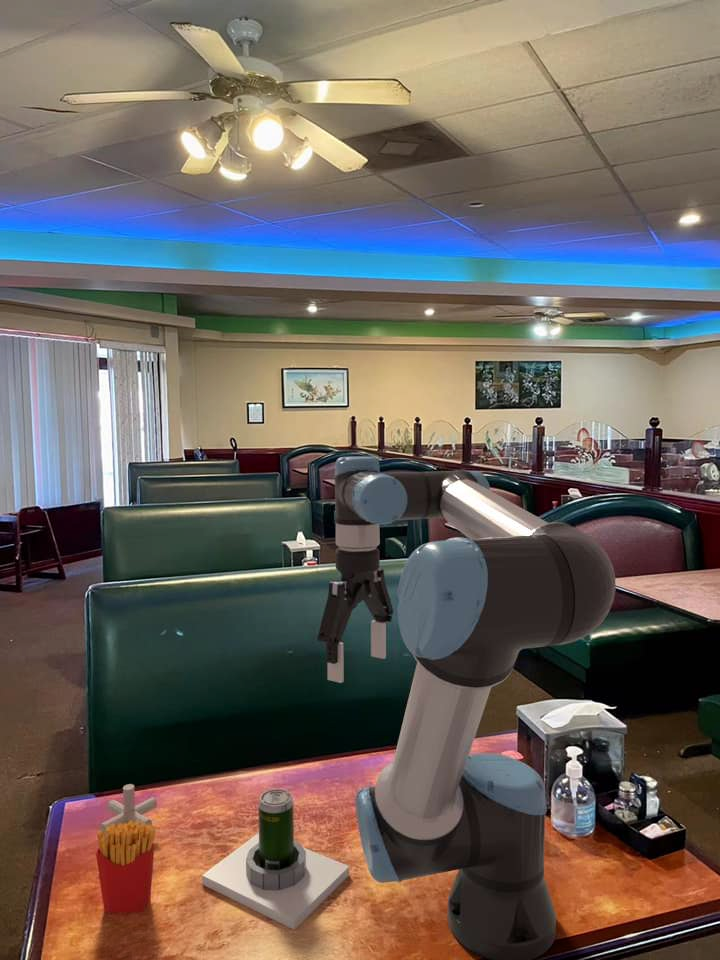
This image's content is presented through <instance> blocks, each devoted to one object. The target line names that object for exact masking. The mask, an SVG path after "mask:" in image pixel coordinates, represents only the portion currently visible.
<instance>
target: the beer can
mask: <svg viewBox="0 0 720 960" xmlns="http://www.w3.org/2000/svg"><path fill="white" fill-rule="evenodd" d="M257 806H258V833H259V867H261V868H263V869H265V870H281V869H284V868H287V867H290V866H291V865H293V864H294V841H295V839H294V836H295V834H294V828H295V827H294V800H293V796H292V793H291V792H290V791H289V790H287V789H283V788H272V789H267V790H266V791H263V792H262V794H260V796H259V802H258V805H257Z"/></svg>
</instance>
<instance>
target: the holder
mask: <svg viewBox="0 0 720 960" xmlns="http://www.w3.org/2000/svg"><path fill="white" fill-rule="evenodd" d="M349 876H350V866H349V865H347V864H345V863H342V862H340V861H336V860H334V859H332V858H329V857H327V856H325V855H322V854H320V853H318V852H315V851H313V850H310V849H308V848H305V847H304V846H303V845H302V844H301V843H299V841H295V840H294V864H293V865H291V866H290V867H287V868H284V869H281V870H265V869H263V868H261V867H259V832H257V833H256V834H255V835H254V836H253V837H251V838H250V839H249V840H247V841H246V842H244V843H243V844H241V845H240V846H239V847H237V848H236V849H235V850H234V851H232V852H231V853H230V854H228V855H227V856H225V857H224V858H223V859H222V860H221V861H219V862H218V863H216V864H215V865H214V866H212V867H211V868H209V870H207V871H206V872H205V873H203V874H202V875H201V879H202V881H201V883H202V884H201V885H203V886H205V887H207V888H209V889H210V890H212V891H215V892H217V893H218V894H221V895H223V896H225V897H227V898H229V899H231V900H233V901H235V902H236V903H238V904H241V905H242V906H245V907H247V908H249V909H250V910H253V911H255V912H258V913H259V914H261V915H262V916H265V917H267V918H269V919H271V920H273V921H274V922H277V923H279V924H282V925H283V926H285V927H287V928H289V929H291V930H293V931H295V930H296V929H297V928H298V927H299V926H300V925H301V924H302V923H304V921H305V920H306V919H307V918H308V917H309V916H310V915H311V914H313V912H314V911H315V910H316V909H318V908H319V906H321V904H322V903H323V902H324V901H325V900H326V899H327V898H328V897H329V896H330V895H332V893H334V891H335V890H336V889H338V887H339V886H340V885H341V884H342V883H343V882H344V881H345V880H346V879H347V878H348V877H349Z"/></svg>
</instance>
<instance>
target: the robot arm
mask: <svg viewBox="0 0 720 960" xmlns="http://www.w3.org/2000/svg"><path fill="white" fill-rule="evenodd" d="M334 466H335V468H334V476H333V480H334V494H335V495H334V496H335V497H334V504H335V506H334V507H335V508H334V509H335V515H334V516H335V545H336V546H337V548H336V549H335V569H336V570H337V571H338V572H339V573H340V574H341V575H340V581H334V580H331V581H330V582H329V583H328V595H327V599H326V603H325V607H324V611H323V614H322V615H323V616H322V619H321V623H320V627H319V630H318V634H317V641H318V642H320V643H321V642H322V643H325V645H326V662H327V681H332V682H336V683H340V684H342V683H344V681H345V680H344V678H345V677H344V673H345V672H344V666H345V665H344V660H345V659H344V642H341V640H342V638H343V635H344V634H345V633H344V632H345V630H346V627H347V625H348V622H349V620H350V617H351V615H352V613H353V610H354V609H355V608H357V606H358V604H359V603H361V602H362V601H363V602H364V604H365V606H366V607H367V609H368V611H369V612H370V614H371V616H372V617H373V619H374V620H370V657H372V658H378V659H383V660H384V659H386V658H387V622H388V623H391V622H392V620H393V617H392V616H393V614H394V609H393V606H392V605H393V604H392V602H391V598H390V595H389V591H388V587H387V583H386V580H385V570H384V569H383V568H380V564H381V563H380V562H381V561H380V549H379V548H378V546H380V544H381V543H380V542H381V540H380V539H381V538H380V525H383V526H384V525H388V524H389V525H390V524H392V523H393V522H396V521H405V520H409V521H411V520H426V519H428V520H430V519H431V520H433V519H443V520H444V521H446V522H448V523H449V524H450V525H451V526H453V527H454V528H455V529H456V530H457V531H459V532H460V533H461V534H463V535H464V536H466V537H456V536H455V537H451V538H448V539H445V540H436V541H428V542H427V543H424V544H421V545H420V546H418V547H417V548H416V549H414V551H412V553H411V554H409V555H410V556H409V557H408V558H407V560H406V562H405V564H404V566H403V568H402V571H401V575H400V579H399V584H398V589H397V598H398V600H399V601H398V605H397V607H396V608H397V610H396V611H397V612H396V613H397V623H398V629H399V632H400V636H401V638H402V640H403V643H404V644H405V647H406V648H407V650H409V652H410V653H411V654H412V656H413V658H414V660H415V661H416V662H417V663H416V667H415V670H414V675H413V678H412V683H411V687H410V692H409V696H408V699H407V704H406V708H405V712H404V716H403V720H402V725H401V727H400V728H401V729H400V733H399V737H398V740H397V746H396V749H395V753H394V756H393V757H394V758H393V760H392V761H391V762H389V763H388V764H387V765H386V766H385V767H383V769H382V770H381V771H380V773H379V775H378V777H377V780H376V783H375V786H371V785H367V786H366V787H364V788H360V789H359V790H357V792H356V795H355V812H356V818H357V825H358V832H359V838H360V843H361V847H362V851H363V856H364V858H365V862H366V866H367V868H368V872H369V873H370V875H371V877H372V878H373V880H374V881H376V882H378V883H381V884H386V883H392V882H393V883H394V882H397V883H403V881H406V880H413V879H416V878H423V877H426V876H427V877H428V876H432V875H437V874H443V873H448V872H452V871H457V873H456V876H455V879H454V882H453V884H452V886H451V890H450V892H449V896H448V900H447V922H448V926H449V930H450V931H451V933H452V934H453V936H454V938H456V940H457V941H458V942H459V944H461V945H462V946H464V947H465V948H466V949H467V950H469V951H471V952H472V953H474V954H476V955H477V956H480V957H483V958H485V959H488V960H534V959H536V958H539V957H540V956H543V954H545V953H546V952H548V950H549V949H550V948H551V947H552V945H553V944H554V941H555V938H556V929H557V928H556V926H557V925H556V924H557V918H556V910H555V906H554V904H553V901H552V898H551V897H552V896H551V894H550V891H549V888H548V884H547V882H546V878H545V872H544V871H545V841H546V813H547V811H548V807H547V799H546V789H545V783H544V781H543V778H542V777H541V776H540V774H539V773H538V772H537V771H536V770H535V769H534V768H532V767H531V766H529V765H528V764H526V763H524V762H522V761H520V760H518V759H516V758H512V757H510V756H507V755H503V754H498V753H491V752H490V753H488V752H486V753H485V752H484V753H482V752H481V753H474V754H470V751H471V749H472V746H473V743H474V740H475V738H476V735H477V732H478V728H479V725H480V722H481V719H482V716H483V713H484V712H485V711H484V710H485V708H486V704H487V702H488V698H489V695H490V692H491V690H492V687H493V688H494V687H495V686H497V685H499V684H501V683H502V682H504V681H505V680H506V679H508V677H509V676H510V675H511V673H512V671H513V669H514V667H515V663H516V661H517V658H518V655H519V653H520V651H522V650H523V649H532V648H542V647H552V646H561V645H563V646H564V645H566V644H570V643H574V642H577V641H579V640H581V639H583V638H585V637H587V636H589V635H590V634H592V633H593V631H594V630H596V629H597V628H598V627H599V626H600V625H601V624H602V623H603V621H604V620H605V619H606V617H607V616H608V614H609V612H610V610H611V608H612V605H613V603H614V599H615V594H616V586H617V585H616V573H615V569H614V565H613V563H612V562H611V559H610V557H609V555H608V553H607V552H606V551H605V549H604V548H603V547H602V546H601V545H600V544H599V543H598V542H597V541H596V540H595V539H594V538H592V537H591V536H590V535H588V534H586V533H585V532H583V531H581V530H579V529H577V528H576V527H574V526H572V525H570V524H568V523H565V522H561V521H560V522H559V521H558V522H557V521H556V522H555V521H553V522H548V521H545V520H544V519H542V518H540V517H538V516H537V515H535V514H533V513H532V512H529V511H528V510H526V509H524V508H522V507H520V506H519V505H517V504H515V503H513V502H512V501H510V500H509V499H506V498H504V497H502V496H500V495H499V494H497V493H495V492H493V491H492V490H491V487H490V484H489V481H488V480H487V478H486V475H485V474H484V473H483V472H481V471H477V470H466V469H458V470H441V471H439V470H437V471H435V470H434V471H406V472H405V471H401V472H399V471H398V472H397V471H396V472H395V471H394V472H381V471H380V470H381V469H380V461H379V459H378V458H377V457H374V456H355V455H354V456H341V457H339V458H337V460H336V461H335V465H334Z"/></svg>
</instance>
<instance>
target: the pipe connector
mask: <svg viewBox="0 0 720 960" xmlns="http://www.w3.org/2000/svg"><path fill="white" fill-rule="evenodd" d="M135 797H136V795H135V785H134V784H133V783H129V784H125V785H123V787H122V800H123V804H122V803H120V802H118V801H117V800H115V799H112V800H110V801H109V802H108V804H107V806H106V809H107V811H109V812H110V813H113V814H114V815H116V816H114V817H111V818H109V819H108V820H106V821H104V822H101V824H100V825H99V828H100V829H99V830H102V832H103V836H105V833H106V828H107V827H108V826H111V825H112V824H116V828H117V826H118V823H122V825H124V823H125V824H128V822H129V820H130V821H133V823H135V822H136V821H140V824H139V825H140V826H141V823H147V825H150V829H151V827H152V826H153V821H152V820H151V818H148V817H147V816H144V815H145V814H146V813H149V812H150V811H152V810H154V809H157V806H158V801H157V799H156V798H155V797H150V798H149V799H147V800H145V801H142V802H141V803H139V804H137V805H136V800H135V799H136V798H135Z"/></svg>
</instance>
